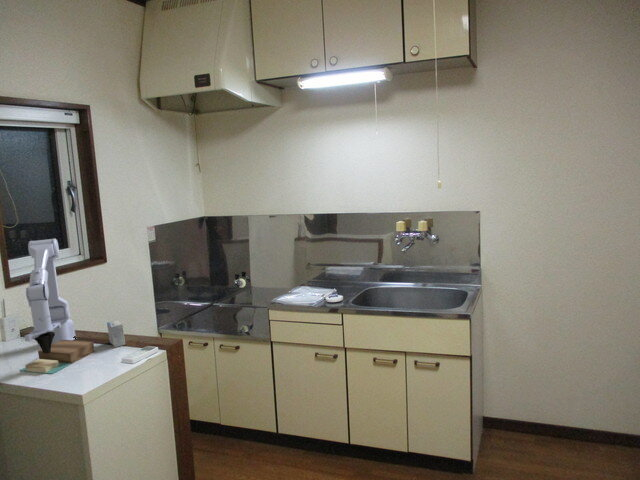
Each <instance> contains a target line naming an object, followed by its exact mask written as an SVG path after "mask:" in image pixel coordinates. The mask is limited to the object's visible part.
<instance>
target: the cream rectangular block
mask: <svg viewBox="0 0 640 480" xmlns="http://www.w3.org/2000/svg"><path fill="white" fill-rule="evenodd" d="M58 366H59V363H58V361H57V360H45V359H39V358H37V359H35V360H33V361H31V362H29V363H27V364H26V365H25V367H26V371H34V372H33V373H36V372H44V373H43V374H46V372H48V371H50V370H52V369H54V368H56V367H58ZM25 367H24V368H25ZM26 371H25V372H26Z"/></svg>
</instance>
